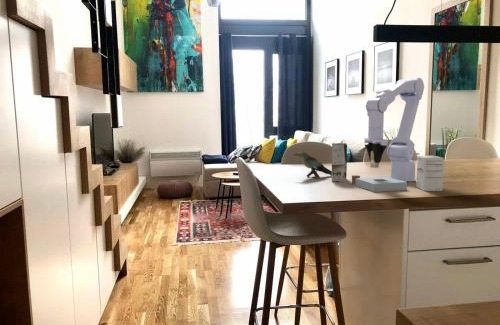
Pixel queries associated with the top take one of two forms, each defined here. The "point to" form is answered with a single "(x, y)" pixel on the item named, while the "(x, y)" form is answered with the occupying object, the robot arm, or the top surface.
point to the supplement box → (430, 173)
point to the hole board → (381, 184)
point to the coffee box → (339, 162)
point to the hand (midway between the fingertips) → (374, 162)
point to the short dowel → (354, 178)
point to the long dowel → (373, 164)
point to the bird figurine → (313, 164)
